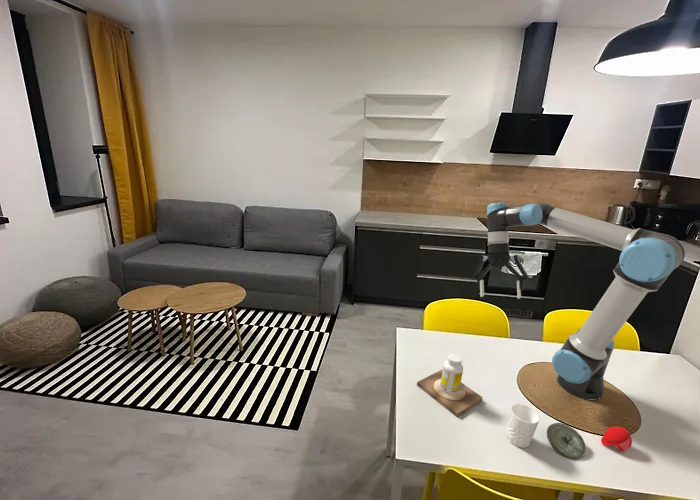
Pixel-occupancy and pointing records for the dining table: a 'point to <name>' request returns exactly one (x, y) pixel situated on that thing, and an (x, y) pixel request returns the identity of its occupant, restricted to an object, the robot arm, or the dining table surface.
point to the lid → (566, 441)
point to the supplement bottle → (452, 374)
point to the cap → (617, 438)
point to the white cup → (521, 425)
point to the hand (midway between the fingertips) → (500, 297)
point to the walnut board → (450, 401)
